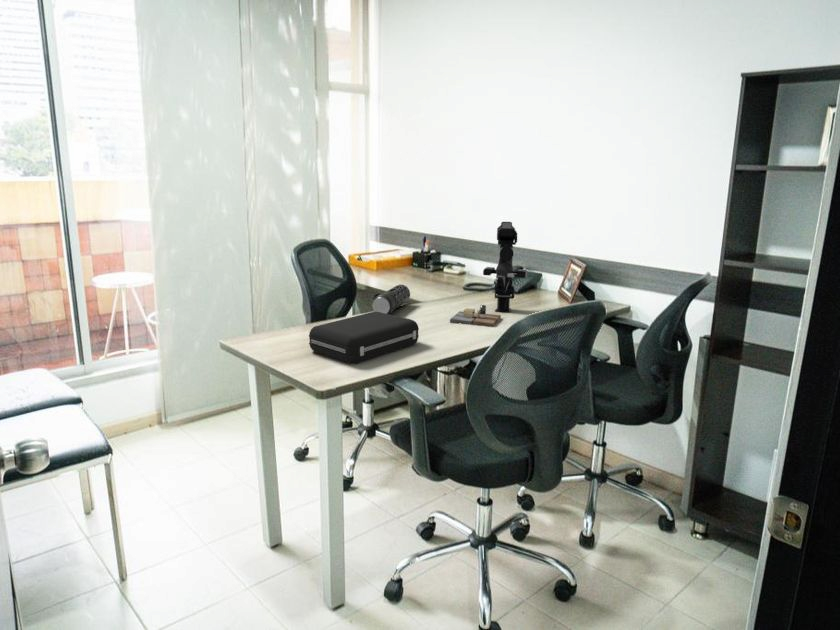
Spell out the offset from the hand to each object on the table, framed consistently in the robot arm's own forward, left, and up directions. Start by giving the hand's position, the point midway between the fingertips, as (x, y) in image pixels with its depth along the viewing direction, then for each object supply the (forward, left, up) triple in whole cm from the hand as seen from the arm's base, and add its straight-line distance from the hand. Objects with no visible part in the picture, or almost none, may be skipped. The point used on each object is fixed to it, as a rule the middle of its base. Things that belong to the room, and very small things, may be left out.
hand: (504, 291), depth 275 cm
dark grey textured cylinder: (+7, -51, -12) cm, 53 cm away
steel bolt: (+9, -10, -10) cm, 17 cm away
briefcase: (+61, -42, -13) cm, 75 cm away
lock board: (+9, -11, -12) cm, 18 cm away
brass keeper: (+9, -12, -10) cm, 18 cm away
